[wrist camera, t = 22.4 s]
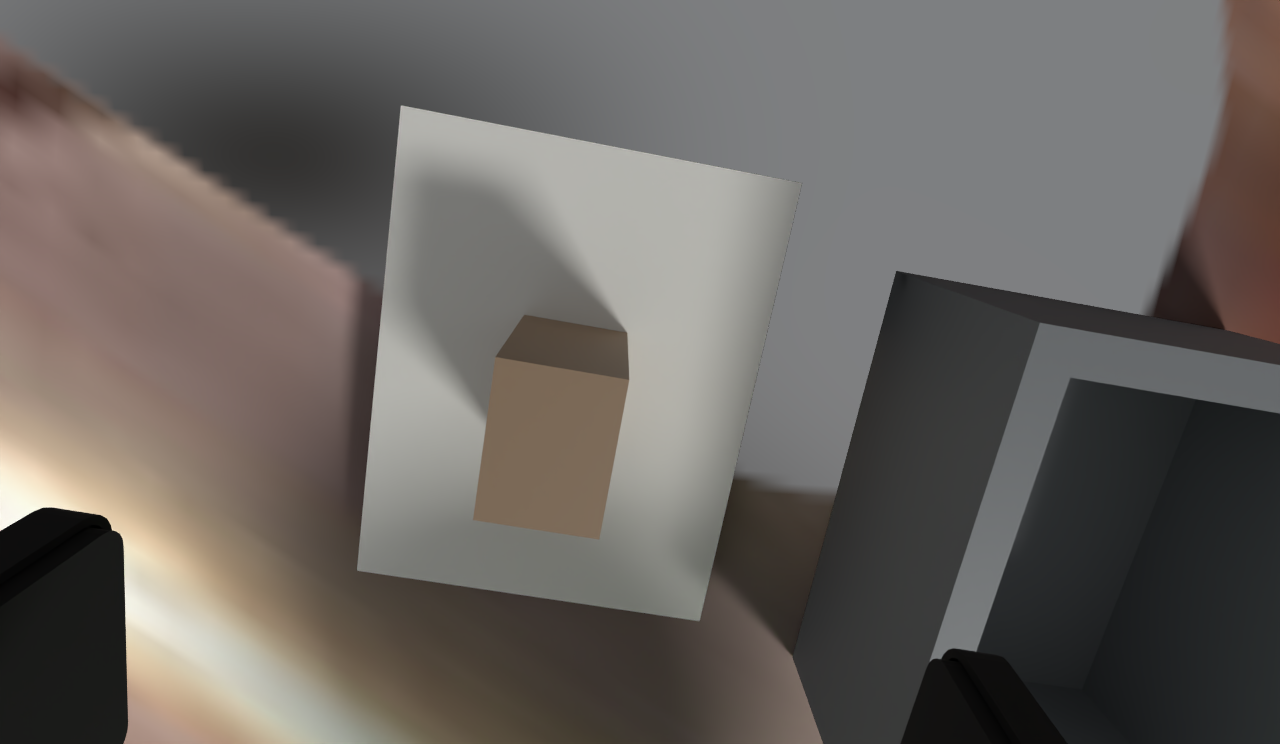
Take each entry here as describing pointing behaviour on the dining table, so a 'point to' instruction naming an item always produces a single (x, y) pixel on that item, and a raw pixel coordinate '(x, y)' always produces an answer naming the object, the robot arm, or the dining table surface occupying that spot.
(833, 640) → the toolbox
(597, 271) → the lid
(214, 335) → the dining table surface
